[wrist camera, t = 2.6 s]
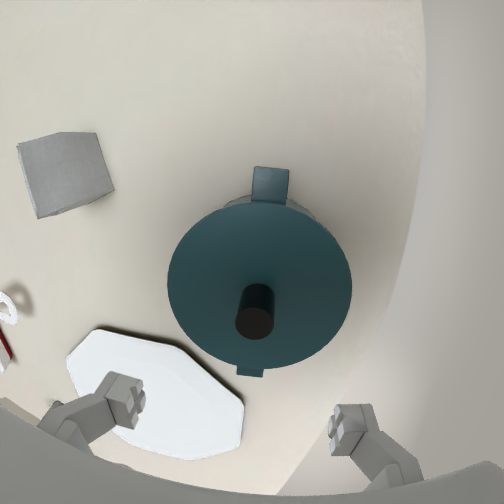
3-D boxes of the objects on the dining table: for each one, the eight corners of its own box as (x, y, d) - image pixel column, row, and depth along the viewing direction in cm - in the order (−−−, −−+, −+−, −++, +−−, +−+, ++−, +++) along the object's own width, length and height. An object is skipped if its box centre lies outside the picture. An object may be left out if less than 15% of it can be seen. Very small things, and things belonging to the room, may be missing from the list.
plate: (250, 349, 32) (249, 358, 31) (238, 462, 41) (237, 469, 40) (56, 310, 33) (50, 315, 32) (98, 427, 43) (95, 433, 41)
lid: (364, 212, 19) (387, 229, 15) (327, 365, 24) (334, 404, 19) (172, 192, 20) (145, 203, 16) (175, 347, 24) (158, 382, 20)
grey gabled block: (95, 132, 25) (29, 132, 16) (114, 189, 27) (52, 209, 18) (71, 148, 26) (6, 154, 17) (90, 203, 28) (27, 226, 19)
